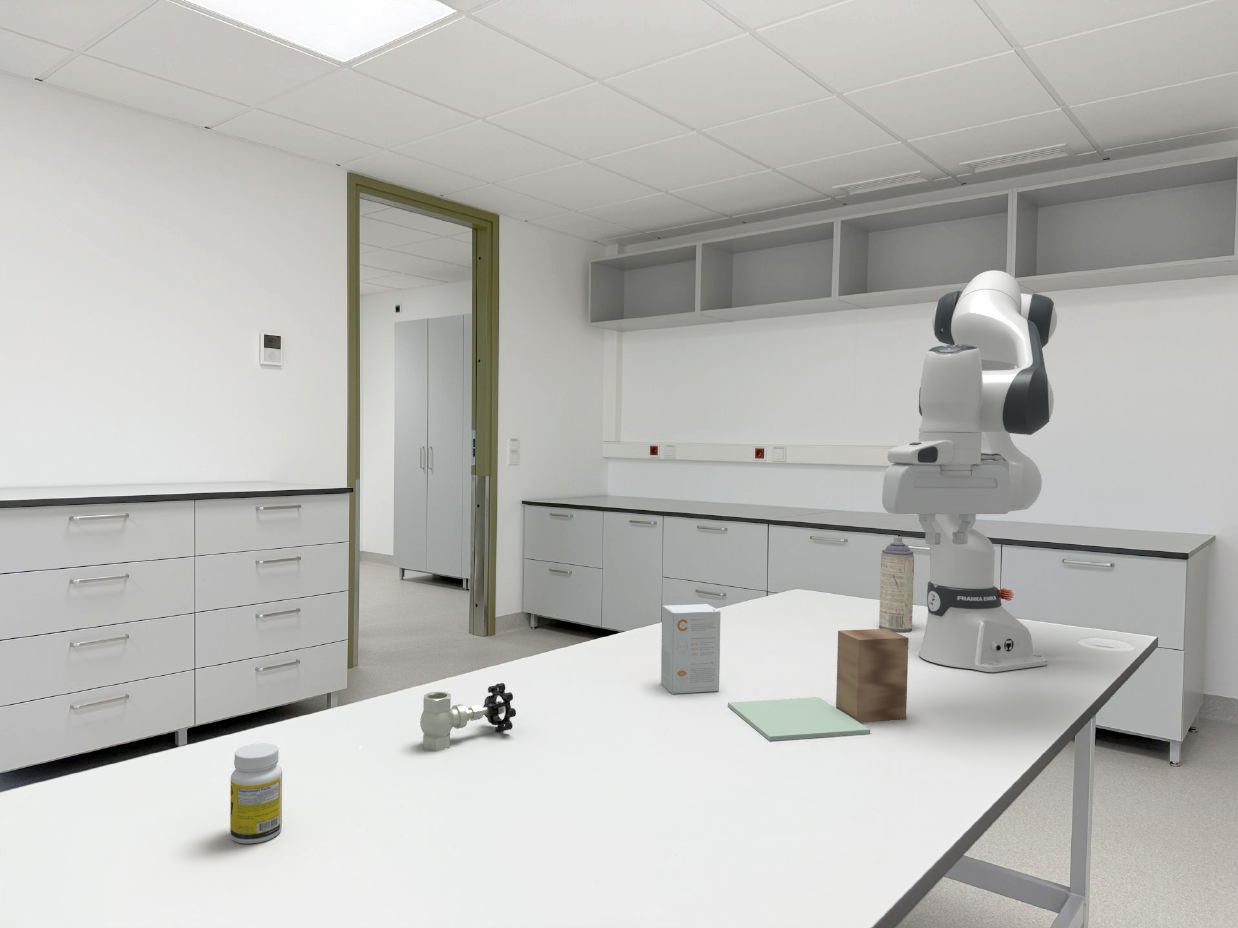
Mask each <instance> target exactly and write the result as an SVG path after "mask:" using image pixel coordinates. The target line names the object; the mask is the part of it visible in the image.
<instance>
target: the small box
mask: <svg viewBox="0 0 1238 928" xmlns="http://www.w3.org/2000/svg"><path fill="white" fill-rule="evenodd" d="M660 648H661V649H660V650H661V653H660V654H661V657H660V658H661V659H660V660H661V661H660V664H661V665H660V666H661V667H660V671H661V672H660V684H661V686H663V687H664V688H665V689H667V691H668V692H669V693H670V694H671V695H678V694H692V693H708V692H719V691H720V665H721V664H720V663H721V662H720V661H721V657H720V656H721V655H720V654H721V611H720V610H719V609H718V608H716V607H714V606H712V605H710V604H708V603H701V604H700V603H698V604H671V605H670V604H669V605H662V606H661V647H660Z"/></svg>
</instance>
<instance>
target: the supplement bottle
mask: <svg viewBox="0 0 1238 928" xmlns="http://www.w3.org/2000/svg"><path fill="white" fill-rule="evenodd" d="M233 764H234V765H233V766H234V770H233V772H232V773H231V775H230V807H229V808H230V809H229V810H230V818H229V819H230V823H229V824H230V825H229V827H230V829H229V830H230V838H231V839H232V841H233V842H235V843H238V844H244V845H245V844H247V845H249V844H250V845H251V844H257V843H258V844H260V843H262V842H263V843H264V842H267V841H269V840H272V839H273V838H275V837H277V835H279V834H280V833H281V831H282V827H283V770H282V767H281V766H280V764H279V747H278V746H277V745H275V744H272V743H267V742H266V743H265V742H264V743H252V744H248V745H244V746H242V747H239V748H238V749H237V750H236V751H235V752H234V761H233Z"/></svg>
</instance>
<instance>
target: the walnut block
mask: <svg viewBox="0 0 1238 928" xmlns="http://www.w3.org/2000/svg"><path fill="white" fill-rule="evenodd" d="M836 657H837V658H836V660H837V661H836V688H835V689H836V692H835V693H836V697H835V708H837V709H839V710H840V711H842V712H843V713H845V714H847V715H848V716H850V717H851V718H853V719H855V720H856V721H858V722H859V723H861V724H864V723H865V724H867V723H879V722H880V723H881V722H892V721H893V722H894V721H907V705H908V702H907V701H908V700H907V699H908V674H909V673H908V671H909V670H908V669H909V667H908V666H909V663H908V662H909V637H907V636H905V635H902V634H900V633H899V632H893V631H890V630H888V629H880V628H872V629H871V628H870V629H847V630H842V629H841V630H837V656H836Z"/></svg>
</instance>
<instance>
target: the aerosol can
mask: <svg viewBox="0 0 1238 928" xmlns="http://www.w3.org/2000/svg"><path fill="white" fill-rule="evenodd" d="M914 566H915V556H914V551H911V549H910V548H909V546H908V545H906V544H905V542H903V537H901V536H894V537H893V541H892V542H890V543H889V544H888V545H887V546H886V547H885V549H882V550H881V555H880V579H879V580H880V581H879V582H880V583H879V584H880V585H879V586H880V587H879V588H880V589H879V612H878V613H879V615H878V616H879V618H878V619H879V621H878V624H879V626H878V627H879V628H878V629H888V630H890V631H893V632H895V633H911V632H912V631H913V610H914V609H913V606H914V605H913V604H914V580H915V579H914V578H915V577H914V575H915V572H914V569H915V567H914Z"/></svg>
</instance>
